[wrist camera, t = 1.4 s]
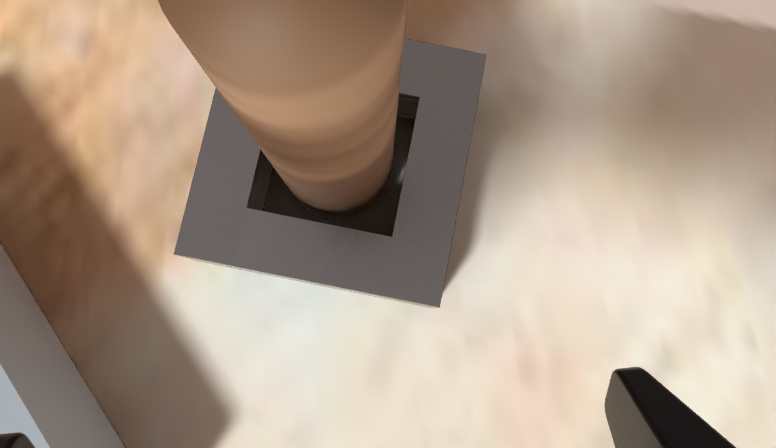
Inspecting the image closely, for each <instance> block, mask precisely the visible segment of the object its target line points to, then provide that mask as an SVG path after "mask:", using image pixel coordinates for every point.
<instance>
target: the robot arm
mask: <svg viewBox="0 0 776 448" xmlns="http://www.w3.org/2000/svg"><path fill="white" fill-rule="evenodd" d="M605 413H606V417H607V421H608V424H609V428H610V431H611V434H612V438H613V441H614V445H615V448H736V447H735V446H734V445H732V444H731V443H730V442H729V441H728V440H727V439H725V438H724V437H723V436H722V435H721V434H719V433H718V432H717V431H716V430H715V429H714V428H712V427H711V426H710V425H709V424H708V423H707V422H705V421H704V420H703V419H702V418H701V417H700V416H698V415H697V414H696V413H695V412H694V411H692V410H691V409H690V408H689V407H688V406H687V405H685V404H684V403H683V402H682V401H681V400H680V399H678V398H677V397H676V396H675V395H674V394H673V393H671V392H670V391H669V390H668V389H667V388H665V387H664V386H663V385H662V384H661V383H660V382H658V381H657V380H656V379H655V378H654V377H653V376H651V375H650V374H649V373H648V372H647V371H645V370H644V369H642V368H639V367H630V368H621V369H616V370H615V371H614V372H613V373H612V375H611V379H610V383H609V387H608V391H607V395H606V399H605ZM0 448H35V446H34V445H33V444H32V442H31V441H30V439H29V438H28V437H27V436H26V435H25V434H23V433H21V432H17V433H8V434H0Z"/></svg>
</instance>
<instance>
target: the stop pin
mask: <svg viewBox="0 0 776 448" xmlns="http://www.w3.org/2000/svg"><path fill="white" fill-rule="evenodd" d="M158 1H159V3H160V6H161V8H162V10H163V12H164V14H165V16H166V17H167V19H168V21H169V22H170V24H171V25H172V27H173V28H174V30H175V31H176V32H177V34H178V35H179V37H180V38H181V39H182V41H183V42H184V44H185V45H186V46H187V48H188V49H189V50H190V52H191V53H192V55H193V56H194V57H195V59H196V60H197V62H198V63H199V64H200V66H201V67H202V69H203V70H204V71H205V73H206V74H207V75H208V77H209V78H210V80H211V81H212V82H213V84H214V85H215V87H216V88H217V89H218V91H219V92H220V93H221V95H222V96H223V98H224V99H225V100H226V102H227V103H228V105H229V106H230V107H231V109H232V110H233V112H234V113H235V114H236V116H237V117H238V118H239V120H240V121H241V123H242V124H243V125H244V127H245V128H246V130H247V131H248V132H249V134H250V135H251V137H252V138H253V139H254V141H255V142H256V143H257V145H258V146H259V148H260V149H261V150H262V152H263V153H264V155H265V156H266V157H267V159H268V160H269V162H270V163H271V164H272V166H273V167H274V168H275V170H276V171H277V173H278V174H279V175H280V177H281V178H282V180H283V181H284V182H285V184H286V185H287V186H288V188H289V189H290V191H291V192H292V193H293V195H294V196H295V198H296V199H297V200H298V201H299V203H300V204H301V205H302V206H303V207H304V208H306V209H307V210H308V211H310V212H311V213H313V214H315V215H317V216H319V217H322V218H326V219H330V220H347V219H352V218H356V217H358V216H361V215H363V214H365V213H366V212H368V211H370V210H371V209H372V208H373V207H375V206H376V205H377V204H378V203H379V201H380V200H381V199H382V197H383V196H384V194H385V192H386V190H387V188H388V186H389V182H390V178H391V169H392V159H393V149H394V139H395V128H396V118H397V108H398V97H399V87H400V77H401V66H402V56H403V46H404V36H405V25H406V15H407V5H408V0H158Z"/></svg>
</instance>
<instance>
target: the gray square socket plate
mask: <svg viewBox="0 0 776 448" xmlns="http://www.w3.org/2000/svg"><path fill="white" fill-rule="evenodd" d="M485 59H486V54H481V53H475V52H470V51H465V50H460V49H455V48H450V47H445V46H440V45H435V44H429V43H424V42H419V41H414V40H409V39H404V46H403V56H402V66H401V77H400V87H399V97H398V108H397V116H399V117H405V118H410V119H415V124H414V129H413V134H412V139H411V144H410V149H409V154H408V159H407V164H406V169H405V174H404V179H403V184H402V189H401V194H400V199H399V204H398V209H397V214H396V219H395V225H394V230H393V235H392V237H390V236H385V235H380V234H375V233H370V232H365V231H360V230H355V229H350V228H345V227H340V226H335V225H330V224H325V223H320V222H315V221H310V220H305V219H300V218H295V217H290V216H285V215H280V214H275V213H270V212H265V211H263V207H264V203H265V199H266V194H267V190H268V186H269V182H270V177H271V173H272V169H273V166H272V164H271V163H270V162H269V160H268V159H267V157H266V156H265V155H264V153H263V152H262V150H261V149H260V148H259V146H258V145H257V143H256V142H255V141H254V139H253V138H252V137H251V135H250V134H249V132H248V131H247V130H246V128H245V127H244V125H243V124H242V123H241V121H240V120H239V118H238V117H237V116H236V114H235V113H234V112H233V110H232V109H231V107H230V106H229V105H228V103H227V102H226V100H225V99H224V98H223V96H222V95H221V93H220V92H219V91H218V89H217V88H216V89H215V93H214V97H213V101H212V105H211V109H210V113H209V117H208V121H207V125H206V129H205V133H204V137H203V141H202V145H201V149H200V153H199V157H198V161H197V165H196V169H195V172H194V176H193V180H192V184H191V188H190V192H189V196H188V200H187V204H186V208H185V212H184V216H183V220H182V224H181V228H180V232H179V236H178V240H177V244H176V248H175V252H174V254H175V255H179V256H182V257H186V258H189V259H193V260H196V261H201V262H206V263H211V264H216V265H221V266H226V267H231V268H236V269H241V270H246V271H251V272H256V273H261V274H266V275H271V276H276V277H281V278H286V279H291V280H296V281H301V282H306V283H311V284H316V285H321V286H326V287H331V288H336V289H341V290H346V291H351V292H356V293H361V294H366V295H371V296H376V297H380V298H385V299H390V300H395V301H400V302H405V303H410V304H415V305H420V306H425V307H430V308H440V303H441V297H442V292H443V286H444V281H445V276H446V270H447V265H448V259H449V254H450V248H451V243H452V238H453V232H454V227H455V221H456V216H457V211H458V205H459V200H460V194H461V189H462V184H463V178H464V173H465V167H466V162H467V156H468V151H469V146H470V140H471V135H472V129H473V124H474V119H475V113H476V108H477V102H478V97H479V91H480V86H481V81H482V75H483V70H484V64H485Z"/></svg>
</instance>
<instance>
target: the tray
mask: <svg viewBox="0 0 776 448" xmlns="http://www.w3.org/2000/svg"><path fill="white" fill-rule="evenodd" d="M17 432H21V433H23V434H25V435H26V436H27V437H28V438H29V439H30V441H31V442H32V444H33V445H34V446H35V448H125V446H124V445H123V443H122V441H121V440H120V438H119V436H118V435H117V433H116V432H115V430H114V428H113V427H112V425H111V423H110V422H109V420H108V418H107V417H106V415H105V414H104V412H103V410H102V409H101V407H100V405H99V404H98V402H97V400H96V399H95V397H94V396H93V394H92V392H91V391H90V389H89V387H88V386H87V384H86V382H85V381H84V379H83V378H82V376H81V374H80V373H79V371H78V369H77V368H76V366H75V364H74V363H73V361H72V360H71V358H70V356H69V355H68V353H67V351H66V350H65V348H64V346H63V345H62V343H61V342H60V340H59V338H58V337H57V335H56V333H55V332H54V330H53V328H52V327H51V325H50V324H49V322H48V320H47V319H46V317H45V315H44V314H43V312H42V310H41V309H40V307H39V306H38V304H37V302H36V301H35V299H34V297H33V296H32V294H31V292H30V291H29V289H28V288H27V286H26V284H25V283H24V281H23V279H22V278H21V276H20V274H19V273H18V271H17V270H16V268H15V266H14V265H13V263H12V261H11V260H10V258H9V256H8V255H7V253H6V252H5V250H4V248H3V247H2V245H1V243H0V434H8V433H17Z"/></svg>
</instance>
